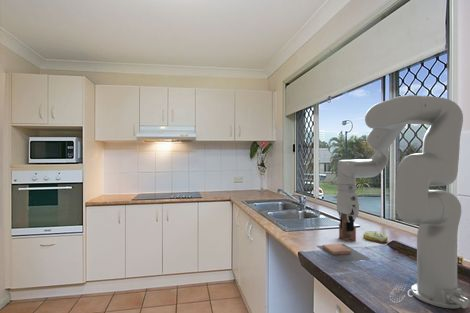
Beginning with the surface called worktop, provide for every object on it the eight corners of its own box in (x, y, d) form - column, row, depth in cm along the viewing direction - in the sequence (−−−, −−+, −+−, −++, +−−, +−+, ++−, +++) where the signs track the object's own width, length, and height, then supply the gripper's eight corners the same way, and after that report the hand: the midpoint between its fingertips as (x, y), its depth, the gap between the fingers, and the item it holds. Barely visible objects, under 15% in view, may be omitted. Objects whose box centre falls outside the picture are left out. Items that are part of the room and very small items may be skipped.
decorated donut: (386, 245, 127) (386, 237, 127) (361, 241, 133) (361, 233, 133) (388, 239, 135) (388, 232, 135) (365, 236, 141) (365, 228, 141)
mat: (371, 260, 107) (371, 259, 107) (339, 263, 105) (339, 261, 105) (343, 245, 126) (343, 244, 126) (316, 247, 124) (316, 245, 124)
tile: (351, 250, 114) (333, 251, 112) (351, 253, 114) (333, 255, 112) (339, 243, 122) (322, 244, 121) (339, 246, 122) (322, 247, 121)
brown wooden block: (353, 237, 116) (353, 207, 117) (345, 238, 116) (345, 208, 116) (348, 235, 120) (348, 206, 120) (340, 235, 120) (340, 206, 120)
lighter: (356, 240, 133) (356, 220, 133) (355, 242, 130) (355, 222, 130) (339, 238, 137) (339, 218, 137) (338, 240, 134) (338, 220, 134)
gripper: (366, 190, 111) (367, 234, 111) (343, 185, 127) (343, 224, 127) (350, 190, 109) (350, 235, 109) (328, 186, 126) (329, 225, 126)
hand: (346, 229), depth 118 cm, fingers closed on brown wooden block, 4 cm apart
